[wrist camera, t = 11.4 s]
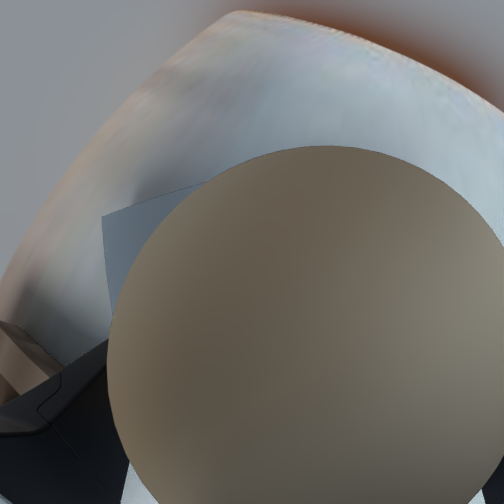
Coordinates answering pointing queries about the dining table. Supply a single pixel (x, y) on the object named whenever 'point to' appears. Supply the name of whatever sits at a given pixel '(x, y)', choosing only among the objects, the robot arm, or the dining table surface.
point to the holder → (22, 363)
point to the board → (133, 235)
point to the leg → (313, 338)
